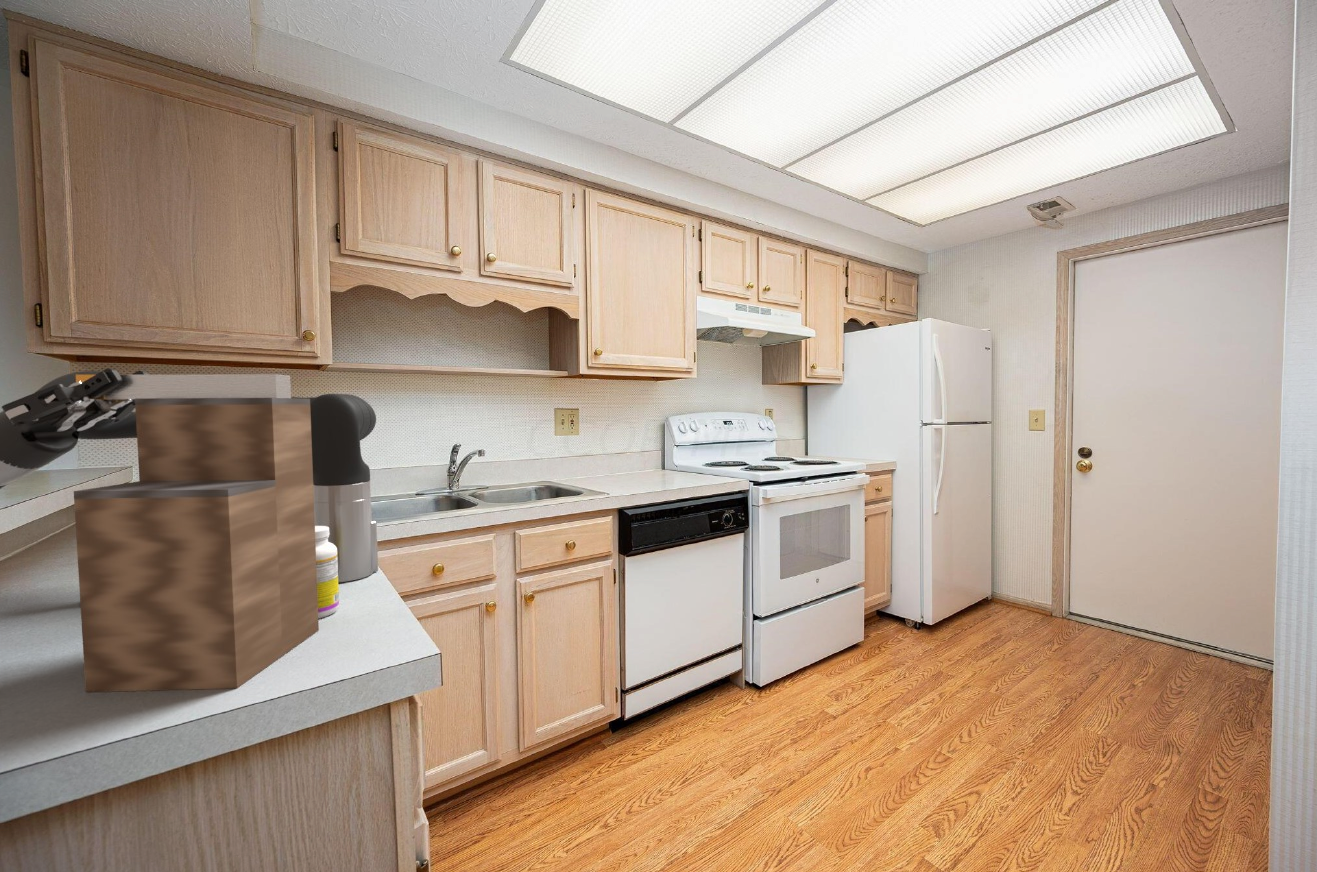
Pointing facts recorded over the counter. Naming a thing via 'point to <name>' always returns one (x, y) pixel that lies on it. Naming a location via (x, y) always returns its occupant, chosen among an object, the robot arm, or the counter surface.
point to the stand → (200, 547)
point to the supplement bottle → (326, 573)
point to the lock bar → (199, 386)
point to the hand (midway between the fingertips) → (132, 376)
